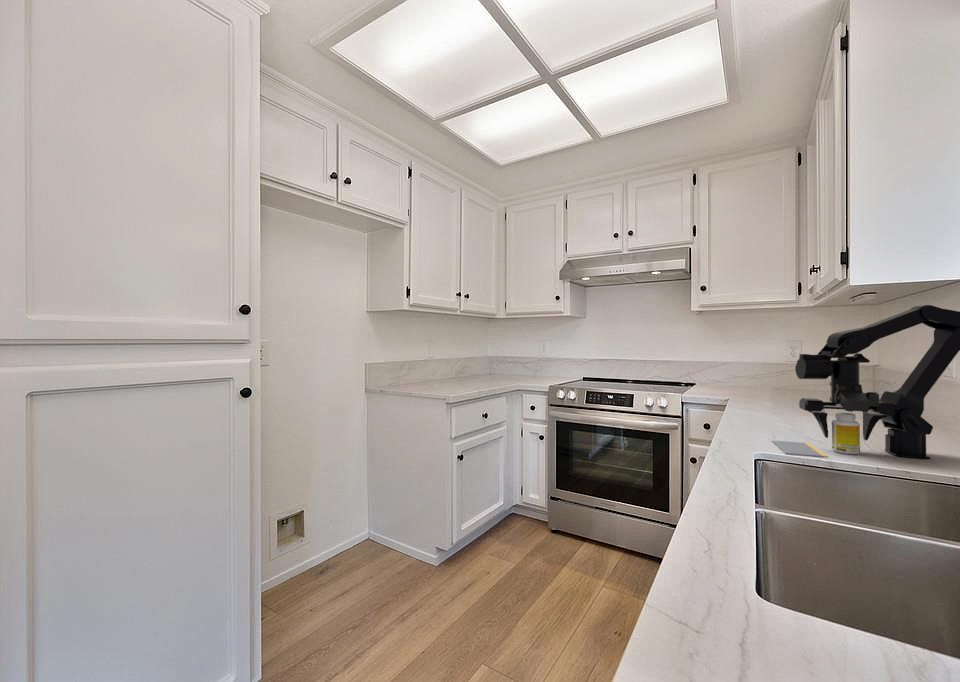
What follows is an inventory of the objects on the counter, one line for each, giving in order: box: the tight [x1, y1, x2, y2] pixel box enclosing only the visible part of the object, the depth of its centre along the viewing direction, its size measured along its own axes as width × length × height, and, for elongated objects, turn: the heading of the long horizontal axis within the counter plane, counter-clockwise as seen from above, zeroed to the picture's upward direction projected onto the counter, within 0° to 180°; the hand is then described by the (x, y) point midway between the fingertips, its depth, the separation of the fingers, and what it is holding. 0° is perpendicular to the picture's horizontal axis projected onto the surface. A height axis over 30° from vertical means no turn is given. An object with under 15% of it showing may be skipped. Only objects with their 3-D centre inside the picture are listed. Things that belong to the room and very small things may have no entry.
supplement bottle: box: [831, 411, 861, 455], centre depth 111 cm, size 6×6×10 cm
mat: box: [771, 440, 829, 458], centre depth 114 cm, size 9×15×1 cm, turn 157°
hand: (845, 438), depth 111 cm, fingers open, 8 cm apart
